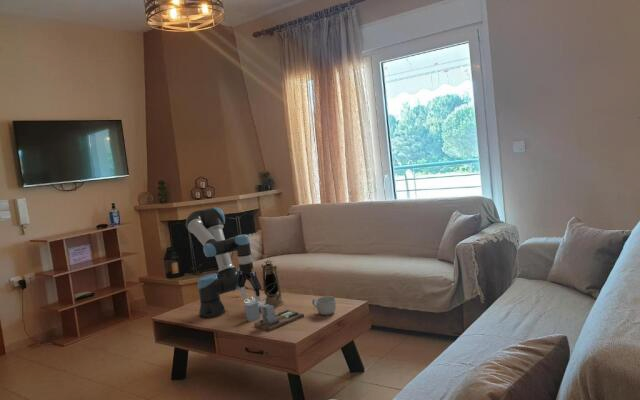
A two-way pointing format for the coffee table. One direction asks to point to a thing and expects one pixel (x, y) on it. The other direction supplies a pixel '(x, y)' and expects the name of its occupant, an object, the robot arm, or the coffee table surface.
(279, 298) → the lantern
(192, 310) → the coffee table surface
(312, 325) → the coffee table surface
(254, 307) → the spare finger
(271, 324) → the finger rail
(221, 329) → the coffee table surface
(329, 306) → the teacup
